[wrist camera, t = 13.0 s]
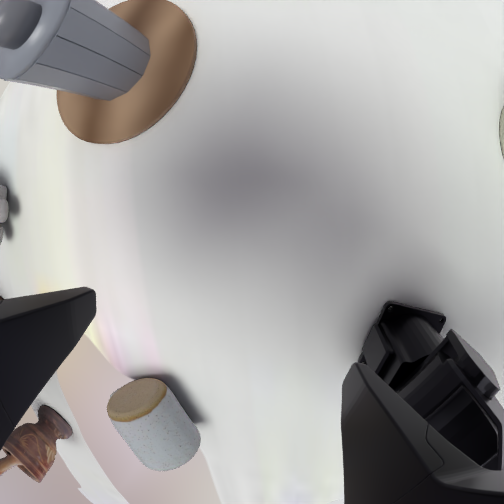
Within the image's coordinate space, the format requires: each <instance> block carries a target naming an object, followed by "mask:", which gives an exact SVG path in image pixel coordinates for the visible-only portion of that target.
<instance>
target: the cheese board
mask: <svg viewBox="0 0 504 504" xmlns="http://www.w3.org/2000/svg"><path fill="white" fill-rule="evenodd" d="M109 10H110V11H112V12H113V13H115V14H116V15H118V16H119V17H120V18H122V19H123V20H125V21H126V22H127V23H129V24H130V25H131V26H133V27H134V28H135V29H137V30H138V31H139V32H140V33H142V34H143V35H144V36H145V37H146V38H147V39H148V40H149V47H150V54H151V56H150V59H149V62H148V64H147V67H146V69H145V72H144V75H143V76H142V78H141V79H140V80H139V81H138V82H137V83H136V84H135V85H134V86H133V87H132V88H131V89H130V91H129V92H127V93H126V94H123V95H121V96H119V97H117V98H115V99H113V100H111V101H108V100H100V99H94V98H90V97H86V96H82V95H78V94H73V93H69V92H65V91H60V90H57V104H58V109H59V113H60V116H61V118H62V120H63V122H64V124H65V126H66V127H67V128H68V130H69V131H70V132H71V133H72V134H74V135H75V136H76V137H78V138H80V139H82V140H84V141H87V142H91V143H99V144H111V143H118V142H122V141H125V140H128V139H130V138H133V137H135V136H137V135H139V134H141V133H142V132H144V131H146V130H147V129H148V128H150V127H151V126H153V125H154V124H155V123H156V122H157V121H159V120H160V119H161V118H162V117H163V116H164V115H165V114H166V113H167V112H168V111H169V110H170V109H171V107H172V106H173V105H174V103H175V102H176V101H177V100H178V98H179V97H180V95H181V93H182V92H183V90H184V89H185V87H186V85H187V83H188V81H189V79H190V76H191V73H192V70H193V68H194V63H195V59H196V51H197V42H196V35H195V30H194V28H193V25H192V23H191V21H190V20H189V18H188V17H187V16H186V14H185V13H184V12H183V11H182V10H181V9H180V8H179V7H178V6H176V5H175V4H173V3H172V2H169V1H167V0H128V1H125V2H122V3H120V4H117V5H115V6H113V7H111V8H110V9H109Z"/></svg>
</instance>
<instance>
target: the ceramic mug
mask: <svg viewBox="0 0 504 504" xmlns="http://www.w3.org/2000/svg"><path fill="white" fill-rule="evenodd" d="M107 412H108V415H109V418H110V420H111V422H112V424H113V425H114V427H115V429H116V430H117V431H118V433H119V434H120V435H121V436H122V438H123V439H124V440H125V442H126V443H127V444H128V446H129V447H130V448H131V449H132V451H133V452H134V454H135V455H136V456H137V457H138V459H139V460H140V461H141V462H142V463H143V464H144V465H145V466H146V467H148V468H150V469H152V470H156V471H168V470H173V469H176V468H178V467H180V466H182V465H183V464H185V463H187V462H188V461H189V460H190V459H191V458H192V457H193V456H194V455H195V453H196V452H197V450H198V448H199V446H200V441H201V438H200V433H199V431H198V429H197V428H196V426H195V425H194V424H193V422H192V421H191V419H190V418H189V416H188V415H187V414H186V412H185V411H184V409H183V408H182V407H181V405H180V404H179V402H178V400H177V399H176V397H175V396H174V394H173V393H172V391H171V390H170V389H169V388H168V387H167V386H166V384H164V383H163V382H162V381H160V380H158V379H155V378H142V379H138V380H134V381H132V382H130V383H128V384H126V385H124V386H123V387H121V388H120V389H117V390H116V391H115V392H113V393H112V394H111V395H110V400H109V402H108V405H107Z"/></svg>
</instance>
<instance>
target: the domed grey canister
mask: <svg viewBox="0 0 504 504" xmlns="http://www.w3.org/2000/svg"><path fill="white" fill-rule="evenodd" d="M150 56H151V54H150V47H149V40H148V39H147V38H146V37H145V36H144V35H143V34H142V33H140V32H139V31H138V30H137V29H135V28H134V27H133V26H131V25H130V24H129V23H127V22H126V21H125V20H123V19H122V18H120V17H119V16H118V15H116V14H115V13H113V12H112V11H110V10H109V9H107V8H106V7H105V6H103V5H102V4H100V3H99V2H97V1H96V0H0V78H1V79H4V80H5V81H12V82H18V83H24V84H30V85H35V86H41V87H46V88H51V89H55V90H60V91H65V92H69V93H73V94H78V95H82V96H86V97H90V98H94V99H100V100H108V101H111V100H113V99H115V98H117V97H119V96H121V95H123V94H126V93H127V92H129V91H130V89H131V88H132V87H133V86H134V85H135V84H136V83H137V82H138V81H139V80H140V79H141V78H142V76H143V75H144V72H145V69H146V67H147V64H148V62H149V59H150Z"/></svg>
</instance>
